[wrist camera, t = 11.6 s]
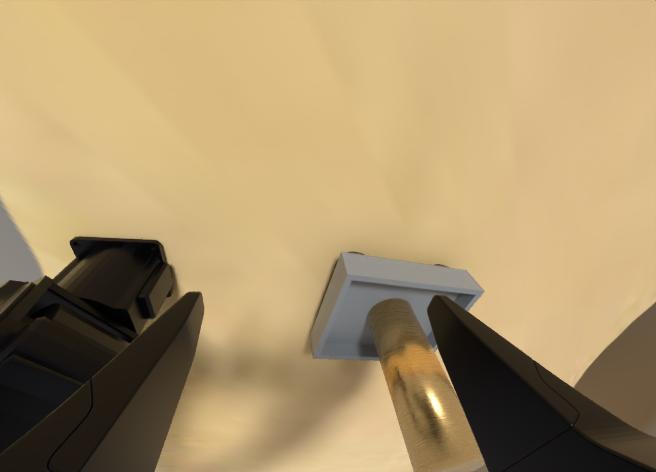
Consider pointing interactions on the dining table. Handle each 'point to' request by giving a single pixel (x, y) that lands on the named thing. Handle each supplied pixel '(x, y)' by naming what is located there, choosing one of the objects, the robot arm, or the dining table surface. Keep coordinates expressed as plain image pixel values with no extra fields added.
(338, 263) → the gray rectangular tray
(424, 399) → the gold cylinder
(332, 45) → the dining table surface
